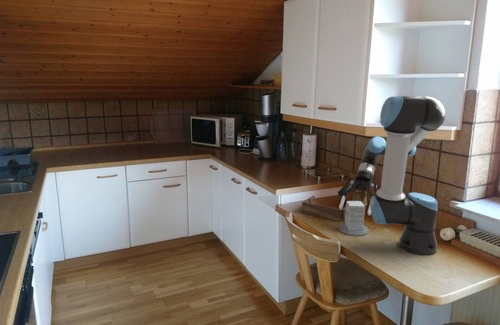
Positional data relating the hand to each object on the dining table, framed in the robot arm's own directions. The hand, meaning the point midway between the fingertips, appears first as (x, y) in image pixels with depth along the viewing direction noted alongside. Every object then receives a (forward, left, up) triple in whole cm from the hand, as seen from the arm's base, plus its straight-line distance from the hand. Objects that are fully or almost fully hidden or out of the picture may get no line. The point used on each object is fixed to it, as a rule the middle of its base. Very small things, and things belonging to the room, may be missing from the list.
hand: (354, 211), depth 177 cm
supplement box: (0, 0, -9) cm, 9 cm away
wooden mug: (+1, -38, -10) cm, 40 cm away
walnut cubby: (+16, -18, -10) cm, 26 cm away
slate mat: (0, 0, -10) cm, 10 cm away
